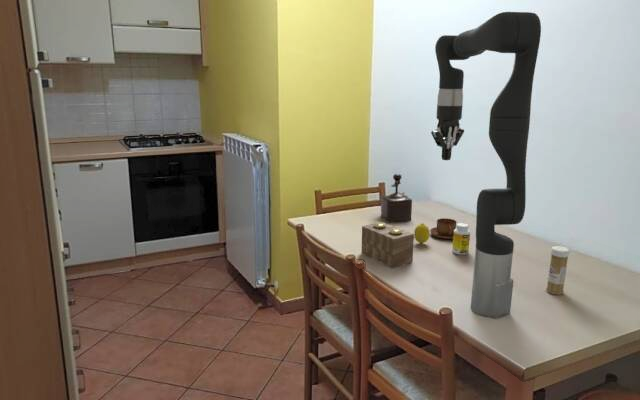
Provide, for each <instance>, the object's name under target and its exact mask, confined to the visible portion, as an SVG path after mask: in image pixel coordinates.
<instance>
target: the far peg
mask: <svg viewBox="0 0 640 400" xmlns="http://www.w3.org/2000/svg"><path fill="white" fill-rule="evenodd" d="M384 223H385V222H383V223H379V222H375V223H373V224H374V227H375V228H377V229H382V228H385V226H386V224H387V223H386V224H384Z"/></svg>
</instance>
